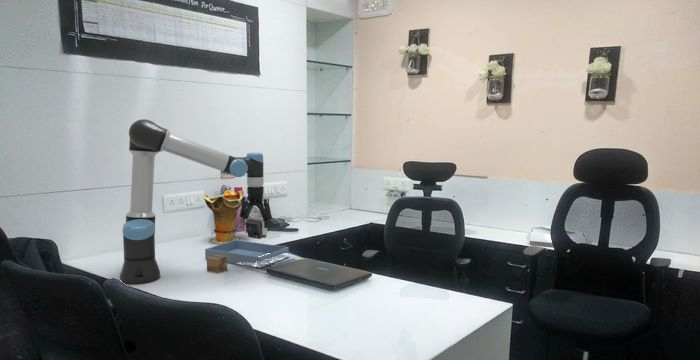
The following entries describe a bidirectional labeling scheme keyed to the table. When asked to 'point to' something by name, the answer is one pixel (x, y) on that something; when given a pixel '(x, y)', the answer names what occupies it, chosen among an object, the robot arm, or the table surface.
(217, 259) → the walnut cube
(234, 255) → the tray
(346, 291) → the table surface
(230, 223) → the decorative vase
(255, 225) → the electrical switch
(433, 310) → the table surface
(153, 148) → the robot arm
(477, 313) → the table surface
